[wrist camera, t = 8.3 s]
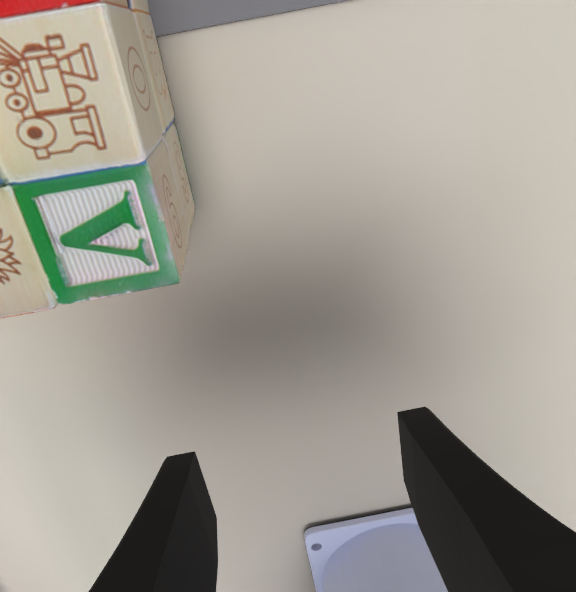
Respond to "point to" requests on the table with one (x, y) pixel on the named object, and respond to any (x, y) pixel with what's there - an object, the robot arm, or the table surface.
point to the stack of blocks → (86, 156)
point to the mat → (217, 12)
